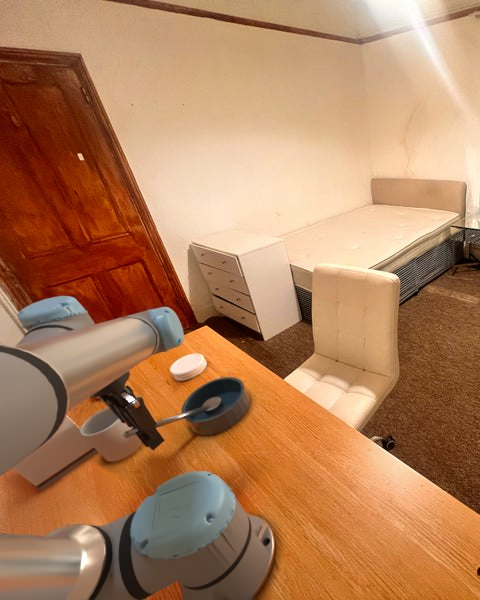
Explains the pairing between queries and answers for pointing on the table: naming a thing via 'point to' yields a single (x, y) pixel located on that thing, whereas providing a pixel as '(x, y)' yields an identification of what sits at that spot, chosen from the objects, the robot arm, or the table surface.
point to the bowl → (229, 415)
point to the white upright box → (56, 456)
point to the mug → (109, 436)
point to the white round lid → (188, 367)
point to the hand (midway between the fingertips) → (155, 443)
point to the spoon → (187, 414)
